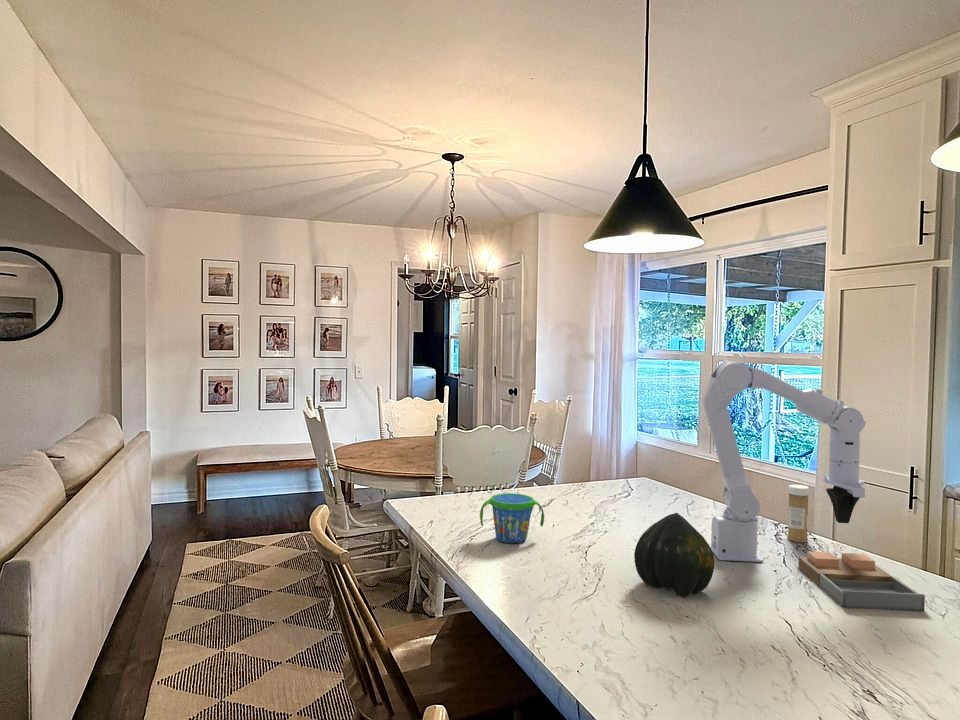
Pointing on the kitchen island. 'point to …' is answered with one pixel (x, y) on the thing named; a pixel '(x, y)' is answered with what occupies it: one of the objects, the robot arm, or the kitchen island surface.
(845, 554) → the tile right
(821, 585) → the tray
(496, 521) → the snack cup
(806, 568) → the walnut board
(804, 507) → the sprinkles bottle
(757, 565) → the kitchen island surface
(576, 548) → the kitchen island surface
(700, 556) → the squash
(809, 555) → the tile left
